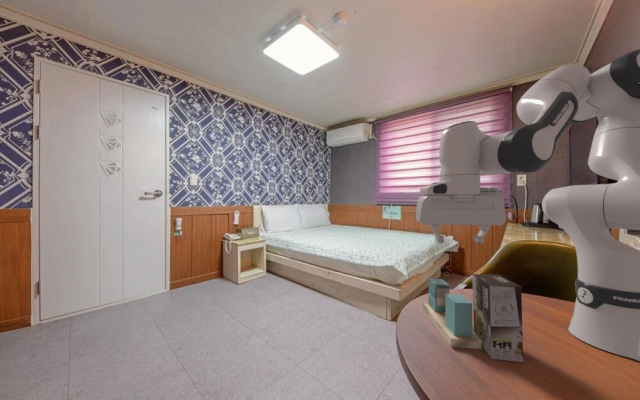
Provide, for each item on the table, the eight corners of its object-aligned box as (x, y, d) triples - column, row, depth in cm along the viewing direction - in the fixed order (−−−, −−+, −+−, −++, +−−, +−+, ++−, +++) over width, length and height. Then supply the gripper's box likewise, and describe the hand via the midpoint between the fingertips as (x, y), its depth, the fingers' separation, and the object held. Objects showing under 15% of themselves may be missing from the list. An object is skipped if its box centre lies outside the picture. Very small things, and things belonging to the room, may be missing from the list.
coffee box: (525, 363, 50) (523, 286, 50) (491, 359, 51) (489, 285, 51) (501, 338, 59) (499, 273, 59) (473, 336, 60) (471, 272, 60)
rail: (446, 310, 73) (446, 278, 74) (482, 349, 55) (482, 306, 55) (423, 309, 74) (423, 278, 74) (450, 347, 55) (451, 304, 55)
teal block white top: (460, 324, 62) (460, 293, 62) (471, 336, 56) (472, 303, 56) (444, 323, 62) (444, 293, 62) (454, 335, 56) (454, 302, 56)
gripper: (495, 188, 61) (495, 241, 61) (413, 188, 63) (413, 240, 63) (512, 186, 55) (512, 245, 55) (421, 187, 57) (421, 244, 57)
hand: (459, 242), depth 59 cm, fingers open, 8 cm apart
